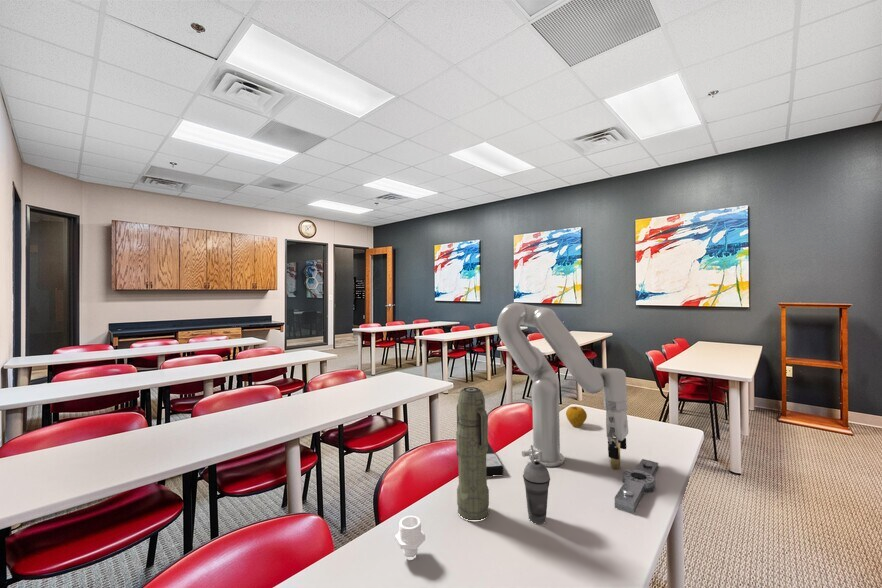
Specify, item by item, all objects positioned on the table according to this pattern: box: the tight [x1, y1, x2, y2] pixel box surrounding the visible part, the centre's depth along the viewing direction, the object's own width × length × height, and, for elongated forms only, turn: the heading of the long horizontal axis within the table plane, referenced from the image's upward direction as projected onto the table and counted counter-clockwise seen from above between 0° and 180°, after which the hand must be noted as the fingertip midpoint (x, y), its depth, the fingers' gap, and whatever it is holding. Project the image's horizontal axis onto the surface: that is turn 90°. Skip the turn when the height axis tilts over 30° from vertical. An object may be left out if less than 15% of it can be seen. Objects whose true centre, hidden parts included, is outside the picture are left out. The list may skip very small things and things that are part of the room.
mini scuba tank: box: [522, 444, 551, 525], centre depth 100 cm, size 7×7×20 cm
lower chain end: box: [622, 458, 659, 494], centre depth 121 cm, size 22×9×2 cm, turn 140°
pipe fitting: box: [394, 515, 426, 557], centre depth 87 cm, size 6×7×8 cm
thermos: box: [455, 386, 490, 520], centre depth 103 cm, size 9×12×35 cm
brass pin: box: [609, 440, 622, 471], centre depth 128 cm, size 3×3×9 cm
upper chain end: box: [614, 469, 656, 515], centre depth 111 cm, size 22×9×4 cm, turn 140°
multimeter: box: [456, 443, 504, 477], centre depth 132 cm, size 13×19×5 cm
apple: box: [565, 406, 588, 428], centre depth 168 cm, size 9×9×9 cm
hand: (617, 453), depth 128 cm, fingers open, 9 cm apart
